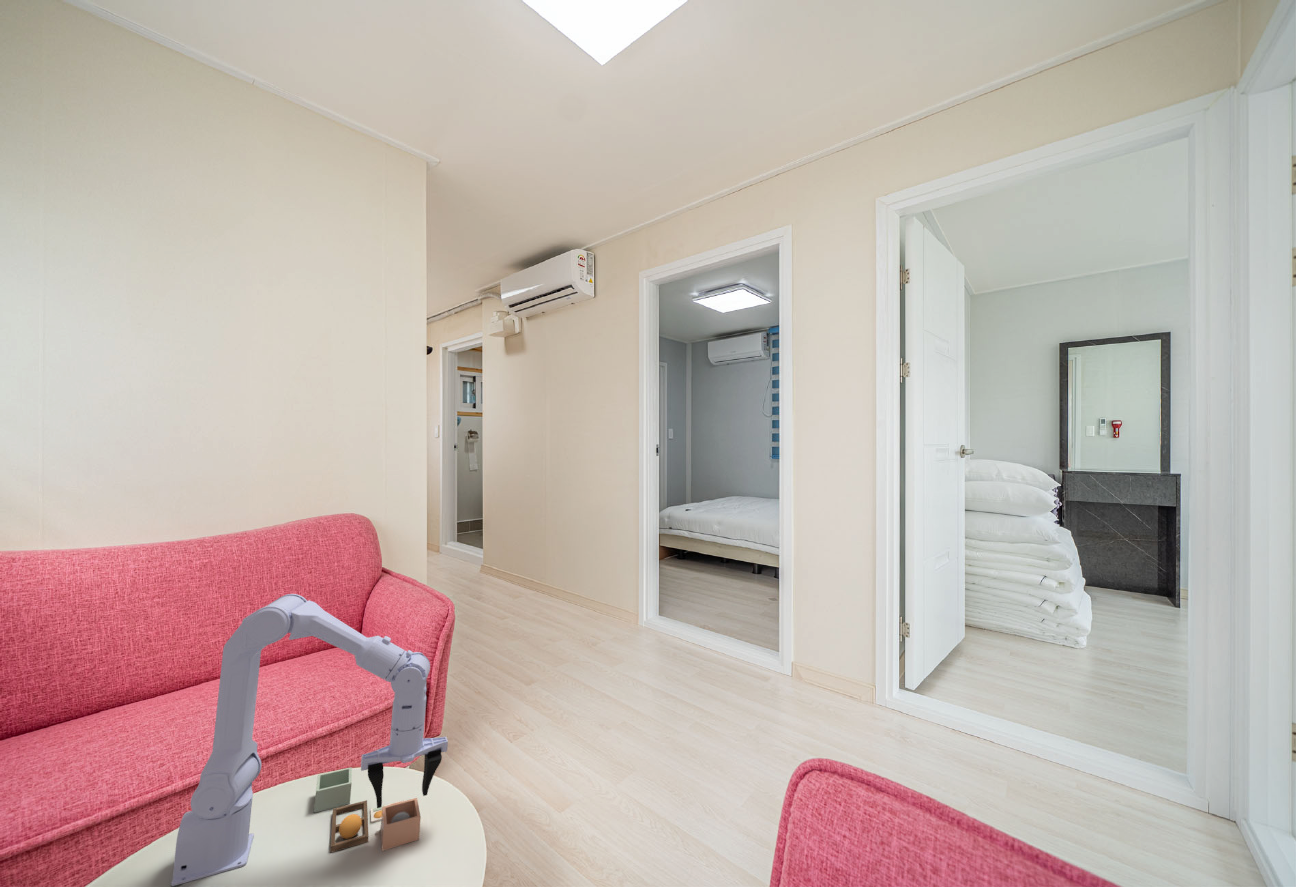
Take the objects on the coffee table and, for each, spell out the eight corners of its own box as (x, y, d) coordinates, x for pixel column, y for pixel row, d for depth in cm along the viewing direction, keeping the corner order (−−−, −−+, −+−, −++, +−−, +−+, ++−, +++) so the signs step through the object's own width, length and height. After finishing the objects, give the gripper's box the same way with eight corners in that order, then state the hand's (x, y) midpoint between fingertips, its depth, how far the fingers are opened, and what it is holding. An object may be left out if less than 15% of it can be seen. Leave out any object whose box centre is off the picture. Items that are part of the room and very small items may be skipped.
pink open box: (382, 850, 88) (384, 827, 88) (380, 829, 93) (382, 807, 93) (418, 839, 91) (420, 816, 91) (415, 819, 96) (417, 797, 96)
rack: (330, 852, 87) (330, 846, 87) (332, 814, 96) (332, 809, 96) (368, 841, 90) (368, 836, 90) (366, 805, 99) (367, 800, 99)
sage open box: (314, 812, 97) (315, 791, 97) (316, 795, 102) (317, 774, 102) (349, 803, 100) (351, 783, 100) (349, 786, 105) (351, 767, 105)
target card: (370, 823, 95) (371, 820, 95) (370, 810, 98) (370, 808, 98) (405, 813, 98) (405, 811, 98) (403, 801, 101) (404, 799, 101)
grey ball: (389, 843, 90) (390, 823, 90) (388, 831, 93) (389, 811, 93) (411, 837, 92) (412, 816, 92) (409, 824, 95) (410, 805, 95)
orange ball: (337, 846, 89) (339, 825, 89) (338, 833, 92) (340, 813, 92) (361, 839, 90) (362, 819, 91) (360, 827, 93) (362, 807, 94)
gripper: (364, 743, 86) (357, 824, 85) (452, 725, 94) (447, 799, 93) (363, 724, 92) (357, 800, 91) (446, 708, 100) (441, 778, 99)
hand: (402, 798), depth 93 cm, fingers open, 7 cm apart
